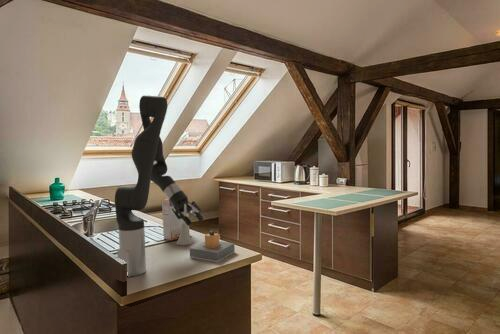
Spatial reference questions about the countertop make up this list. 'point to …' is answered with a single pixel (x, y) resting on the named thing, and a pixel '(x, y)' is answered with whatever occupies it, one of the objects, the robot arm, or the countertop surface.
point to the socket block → (212, 251)
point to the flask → (184, 236)
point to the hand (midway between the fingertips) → (196, 222)
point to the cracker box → (171, 221)
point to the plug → (212, 240)
